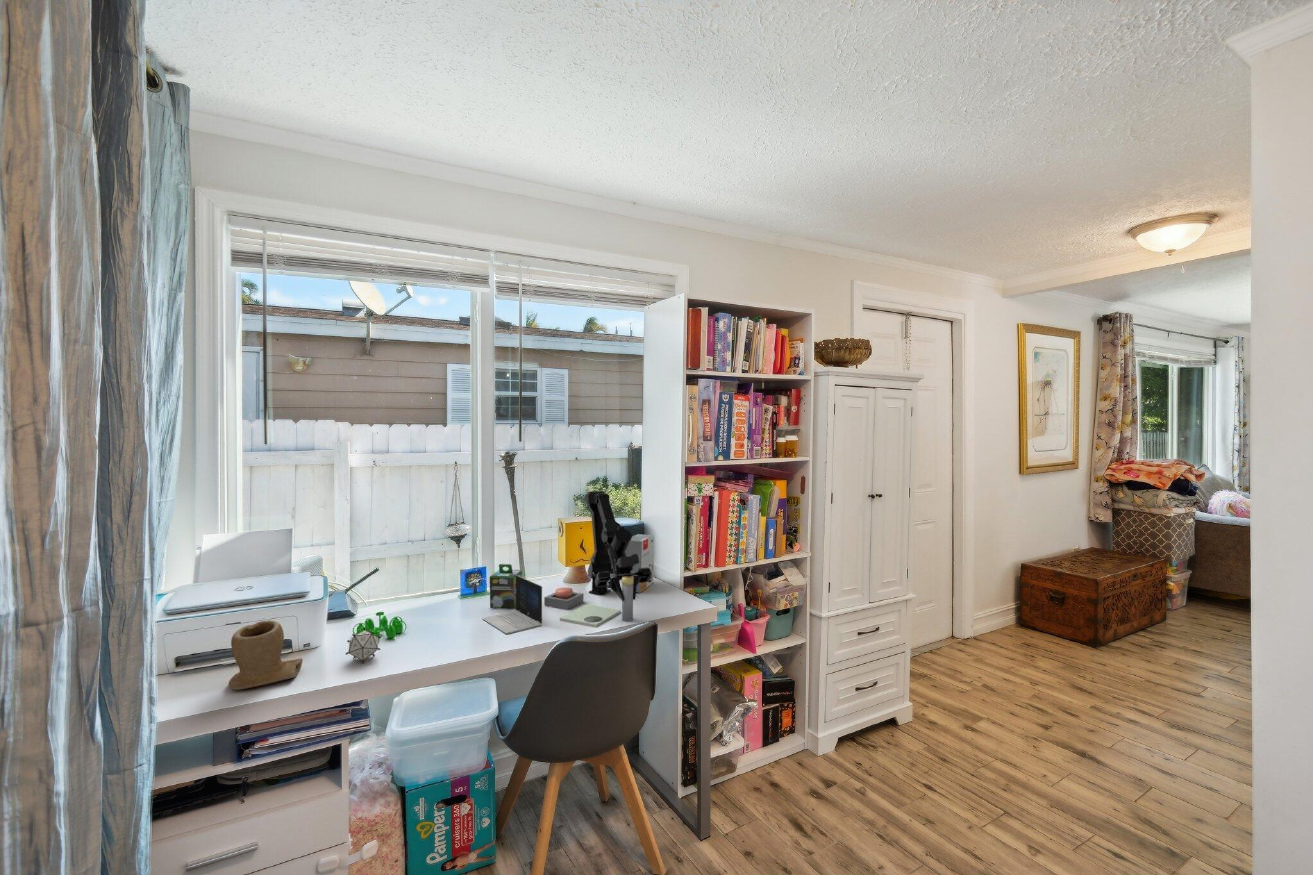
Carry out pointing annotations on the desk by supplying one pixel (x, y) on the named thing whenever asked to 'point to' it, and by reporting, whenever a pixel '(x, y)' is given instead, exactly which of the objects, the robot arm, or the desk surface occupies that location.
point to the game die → (363, 645)
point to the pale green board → (590, 615)
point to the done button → (564, 593)
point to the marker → (627, 598)
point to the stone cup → (261, 656)
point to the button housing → (563, 601)
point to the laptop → (521, 609)
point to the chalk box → (503, 587)
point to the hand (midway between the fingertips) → (629, 599)
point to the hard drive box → (642, 556)
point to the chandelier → (382, 626)
